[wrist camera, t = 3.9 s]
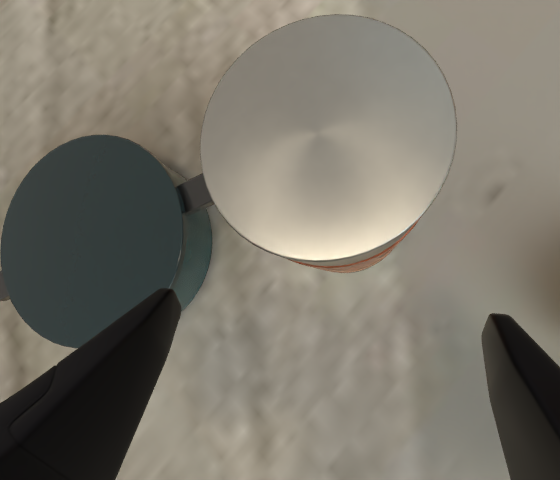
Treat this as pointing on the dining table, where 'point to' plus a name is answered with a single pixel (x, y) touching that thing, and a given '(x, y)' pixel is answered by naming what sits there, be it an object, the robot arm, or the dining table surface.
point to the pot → (101, 237)
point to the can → (329, 141)
